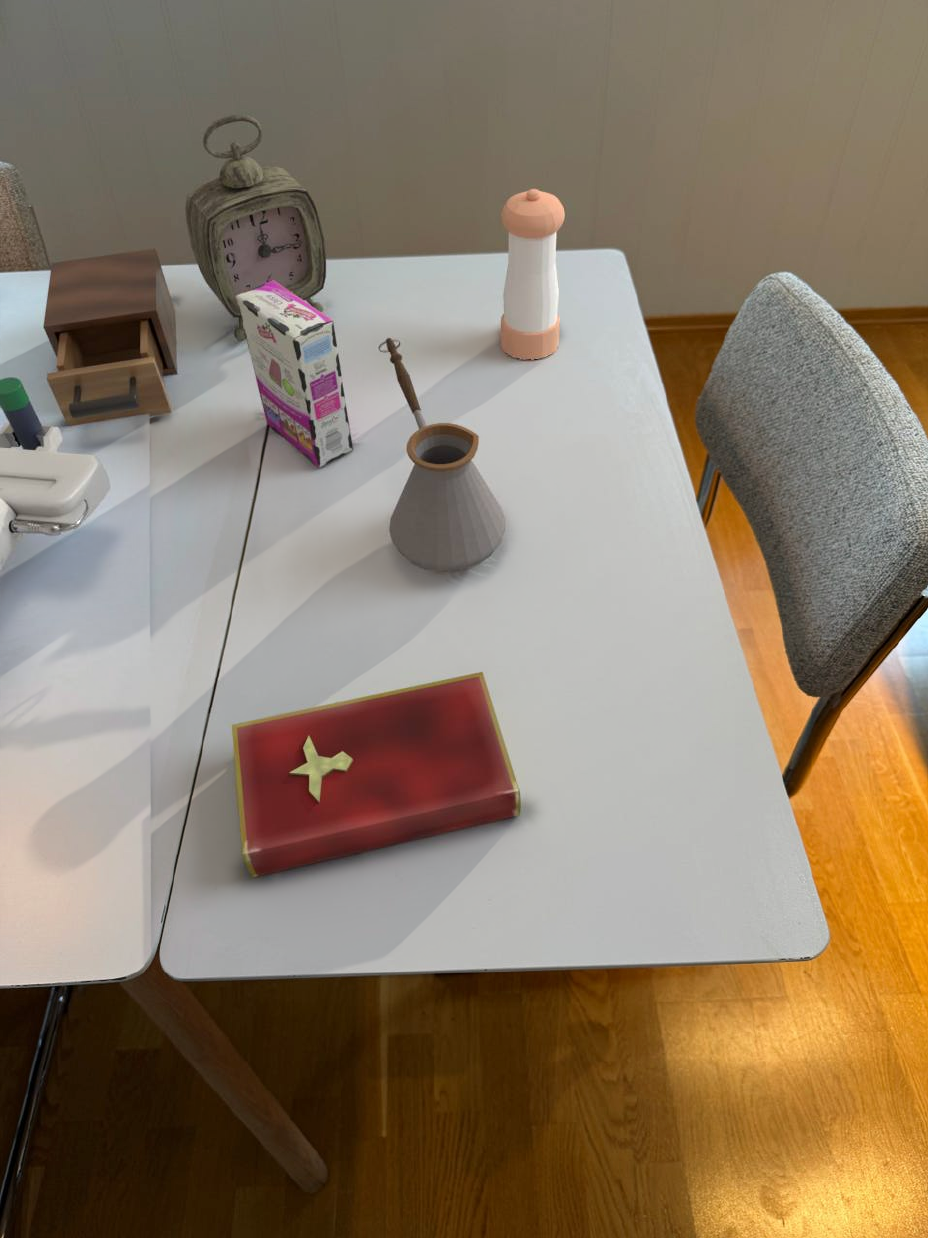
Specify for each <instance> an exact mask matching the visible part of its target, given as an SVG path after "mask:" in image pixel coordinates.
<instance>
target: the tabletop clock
mask: <svg viewBox="0 0 928 1238" xmlns="http://www.w3.org/2000/svg"><path fill="white" fill-rule="evenodd" d="M236 122H245V123H246V122H247V123H250V124H252V125H254V126H255V127H256V128H257V130H258V135H257V137H256V138H255V140H253V142H251V143H249V144H247V145H246V146H242V147H241V145H240V143H239V142H237V141H233V142H231V143H230V150H228V151H217V150H213V149H211V148H210V147H209V145H208V141H209V138H210V136H211V135H212V133H213V132H214V131H215V130H217V129H218V128H219V127H222V126H225V125H227V124H228V125H229V124H232V123H236ZM263 131H264V130H263V128H262V126H261V124H260V122H258V120H257V119H255V118H254V117H252V116H251V115H248V114H247V115H246V114H242V113H241V114H231V115H228V116H224V117H221V118H219V119H217V120H214V121H213V122H212V123H211V124H210V125H208V127H207V129H206V130H205V132H204V133H203V138H202V144H203V149H204V150H205V151H206V152H207V153H208V154H209V155H210V156H213V157H214V158H218V159H226V160H225V161H224V162H223V163H224V164H222V167H221V168H220V171H219V177H216V178H213V179H211V180H207V181H206V182H203V183H201V184H199V185H197V186H196V187H194V188H193V189H192V190H190V192H188V193H187V194H186V200H185V219H186V221H185V222H186V225H187V230H188V236H189V242H190V246H191V249H192V252H193V255H194V258H195V261H196V264H197V266H198V269H199V272H200V273H201V276H202V278H203V280H204V281H205V283H206V284H207V286H208V287H209V288H210V290H211V291H212V293H213V294H214V295H215V296H216V298H217V299H218V301H219V302H220V303H221V304H222V305H223V307H224V308H225V309H226V311H227V312H228V313H229V314H230V315H231V316H232V318H233V319H234V318H235V319H238V327H237V328H235V329H234V332H233V336H234V338H235V339H236V340H237V341H239V342H242V341H243V342H244V341H245V340H246V335H245V331H244V327H243V322H242V318H241V314H240V310H239V306H238V302H237V298H236V296H237V295H239V294H241V293H244V292H246V291H249V290H251V289H253V288H255V287H257V286H260V285H262V284H264V283H267V282H269V281H272V280H274V281H276V282H277V283H278V284H280V285H281V286H283V287H284V288H286V289H287V290H289V291H290V292H292V293H293V294H295V295H296V296H298V297H299V298H301V299H302V300H304V301H305V302H307V303H308V304H310V305H311V306H312V307H314V308H316V309H317V310H318V311H320V312H322V313H323V312H324V307H323V305H322V303H320V302H317V301H315V302H314V300H313V297H314V296H316V295H317V294H319V293H320V292H321V291H322V290H323V289H324V287H325V283H326V278H327V257H326V256H327V255H326V244H325V237H324V233H323V228H322V224H321V221H320V216H319V213H318V210H317V206H316V204H315V202H314V200H313V199H312V197H311V195H310V194H309V191H307V190H306V188H305V187H303V186H302V185H301V184H300V183H299V182H298V181H297V180H296V179H295V178H294V177H293V176H292V175H291V174H290V173H289V172H288V171H286V170H285V169H284V168H283V167H279V166H273V165H272V166H271V165H266V166H260V165H259V163H257V162H256V160H254V159H253V158H252V157H250V156H248V155H247V156H246V154H248V153H251V152H252V151H253V150H255V149H256V148H257V147H258V146H259V144H260V143H261V141H262V139H263V134H264V132H263Z"/></svg>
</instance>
